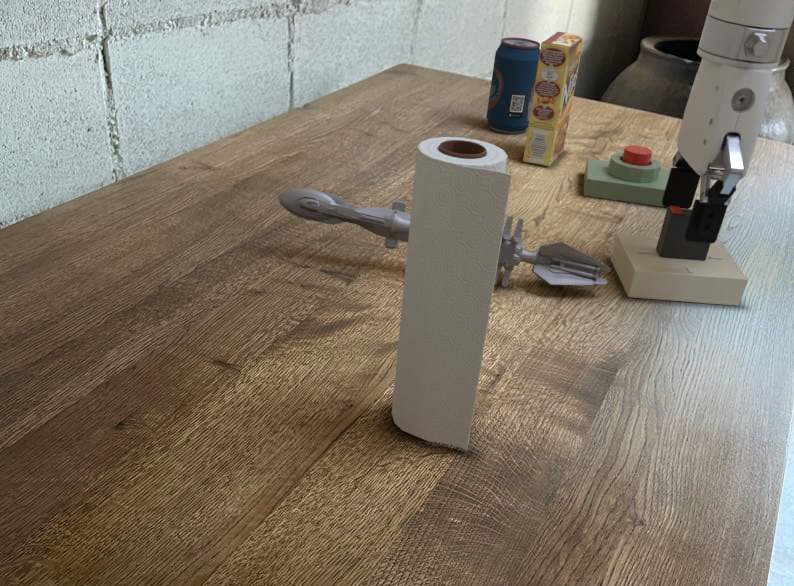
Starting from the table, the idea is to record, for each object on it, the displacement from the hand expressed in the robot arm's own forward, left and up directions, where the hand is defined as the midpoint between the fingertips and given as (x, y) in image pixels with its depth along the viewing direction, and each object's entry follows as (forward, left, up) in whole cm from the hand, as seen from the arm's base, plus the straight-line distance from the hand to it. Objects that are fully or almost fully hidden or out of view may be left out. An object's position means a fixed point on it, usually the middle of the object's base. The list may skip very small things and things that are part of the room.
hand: (686, 223), depth 97 cm
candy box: (+16, -39, -7) cm, 43 cm away
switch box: (+4, -29, -7) cm, 30 cm away
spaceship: (+25, +7, -7) cm, 26 cm away
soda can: (+22, -51, -7) cm, 56 cm away
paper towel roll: (+22, +37, -7) cm, 43 cm away
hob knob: (0, 0, -3) cm, 3 cm away
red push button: (+4, -29, -3) cm, 30 cm away
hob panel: (0, 0, -7) cm, 7 cm away
